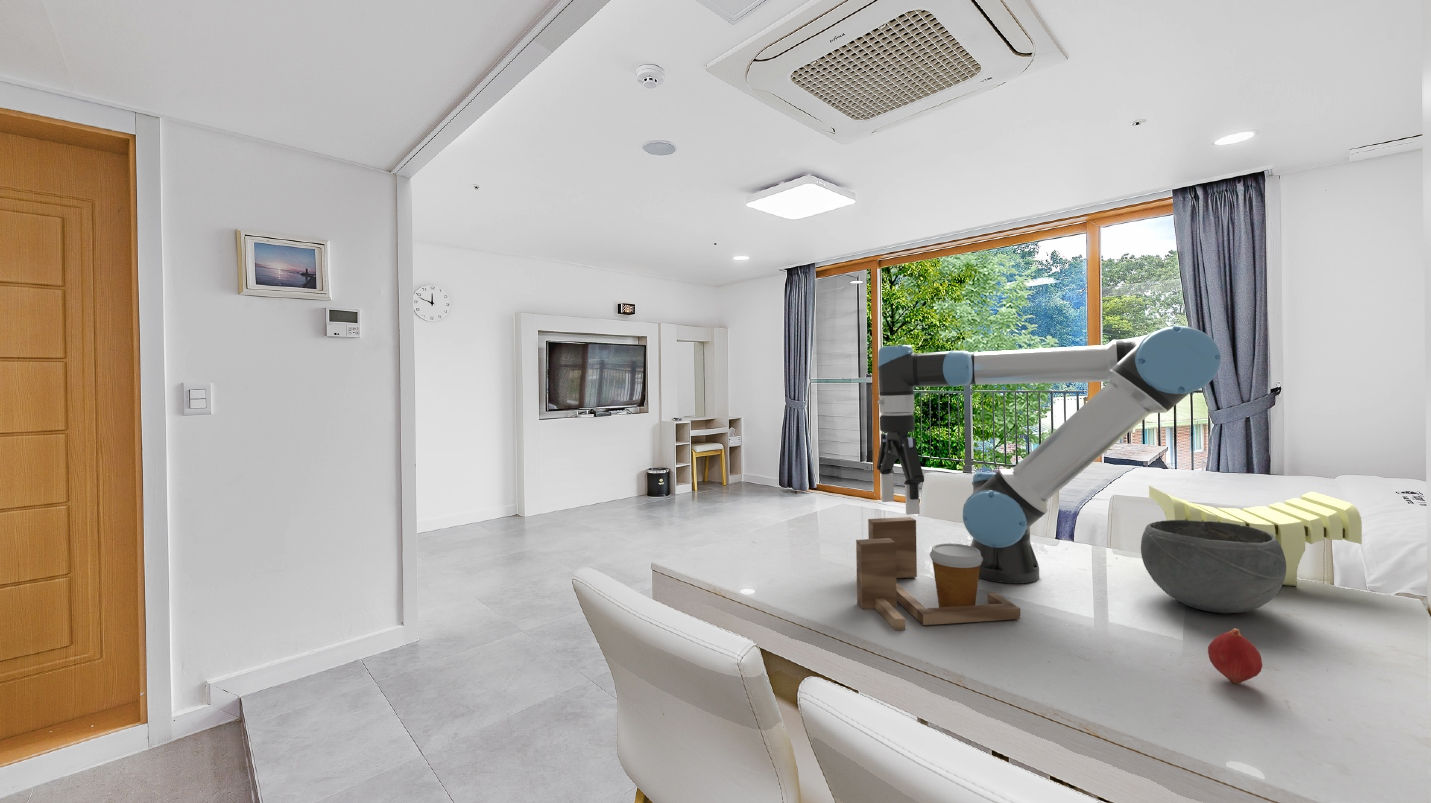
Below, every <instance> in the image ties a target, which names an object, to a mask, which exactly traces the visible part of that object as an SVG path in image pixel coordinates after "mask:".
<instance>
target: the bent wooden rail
mask: <svg viewBox="0 0 1431 803" xmlns="http://www.w3.org/2000/svg"><path fill="white" fill-rule="evenodd" d="M867 522H868V524H867V528H868V533H867V534H868V539H882V538H890V539H892V540H893V541H895V542H896V579H906V578H907V579H908V578H918V567H917V566H918V565H917V561H918V560H917V557H918V556H917V552H918V551H917V520H916V519H915V518H914V517H911V516H904V517H902V516H900V517H886V518H885V517H882V518H879V517H878V518H868V520H867ZM896 592H897V602H898V603H899V604H900V605H901V606H902V607H903V608H905V610H906V611H907V612H908V613H910V615H912V616H913V617H914V618H915V619H916V620H917V621H919V623H920V624H921V625H922V626H929V625H930V626H932V625H933V626H935V625H946V624H962V623H963V624H964V623H976V622H991V621H993V622H995V621H1006V620H1007V621H1009V620H1020V619H1021V607H1019V606H1017V605H1016V604H1015V603H1013V602H1011V601H1009V600H1008V599H1006V598H1005V597H1004V596H1002V595H1000V594H999V593H997V592H989V593H988V592H987V594H986V598H987V599H986V604H975V605H972V606H956V607H940V608H939V607H928V608H927V607H926V606H924V604H922V603H921V602H920V601H919V600H918V599H916V598H915V597H914V596H913V595H912V594H910V593H909V592H908V591H907V590H906V589H904V587H902V586H901V585H900V584H899V583H898V582H896Z"/></svg>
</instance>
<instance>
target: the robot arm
mask: <svg viewBox="0 0 1431 803" xmlns="http://www.w3.org/2000/svg"><path fill="white" fill-rule="evenodd" d="M1219 348H1220V347H1219V346H1218V344H1217V343H1216V342H1215V340H1214V339H1213V338H1212V337H1211V336H1209V335H1208V334H1207V333H1205V332H1203V331H1202V330H1199V329H1197V328H1195V327H1194V328H1193V327H1191V326H1184V325H1169V326H1165V327H1160V328H1158V329H1156V330H1154V331H1152V332H1151V333H1148V334H1146V335H1142V336H1138V337H1137V336H1136V337H1131V338H1124V339H1112V340H1111V341H1110V342H1108V344H1105V345H1104V344H1102V345H1085V346H1069V347H1067V346H1066V347H1065V346H1064V347H1051V348H1049V347H1048V348H1046V347H1045V348H1034V349H1033V348H1032V349H1031V348H1030V349H1013V350H1012V349H1011V350H995V351H976V352H970V351H967V350H954V349H953V350H950V351H949V350H948V351H947V350H946V351H934V352H924V353H923V352H922V353H921V352H920V353H919V352H917V353H916V352H914V350H913V347H912V346H911V345H910V344H899V345H886V346H881V347H880V348H879V350H878V357H877V358H878V359H877V373H878V374H877V375H878V395H879V396H878V398H879V399H878V400H877V404H878V405H879V413H880V414H882V415H880V416H879V431H881V432H882V433H880V445H879V446H880V447H879V451H878V457H877V464H876V469H877V471H879V474H880V483H881V488H880V489H881V502H882V503H887V502H888V503H890V502H895V491H894V490H895V488H894V487H895V486H894V473H895V472H894V470H893V468H894V465H895V463H896V459H898V460H899V463H900V466H901V469H902V472H903V475H904V478H905V481H904V483H903V484H904V493H905V494H904V496H905V498H904V499H905V515H919V514H920V488H919V486H920V484H921V483H924V482H925V478H924V472H923V468H922V465H921V461H920V456H919V453H918V448H917V439H916V436H915V437H909V433H911V432H914V431H915V429H916V428H915V427H916V426H915V424H916V423H915V415H914V414H913V413H914V412H915V392H914V388H921V387H923V388H924V387H925V388H926V387H931V388H932V387H934V388H935V387H961V386H973V385H1012V384H1013V385H1015V384H1019V385H1020V384H1049V383H1050V384H1051V383H1053V384H1054V383H1055V384H1058V383H1060V384H1061V383H1063V384H1064V383H1095V382H1096V383H1097V382H1104V383H1105V382H1107V384H1106V385H1105V386H1103V387H1102V388H1101V389H1100V390H1099V391H1098V392H1097V393H1096V394H1094V395H1093V396H1092V397H1091V398H1089V400H1087V401H1086V402H1085V404H1083V405H1082V406H1081V407H1080V408H1079V409H1077V411H1075V413H1073V414H1072V415H1071V416H1070V417H1069V418H1068V419H1067V420H1065V421H1064V422H1063V423H1062V424H1061V425H1060V426H1059V427H1058V428H1057V429H1055V430H1054V431H1053V432H1052V433H1051V434H1049V436H1048V437H1046V439H1044V440H1043V441H1042V442H1040V444H1038V445H1037V446H1036V447H1035V448H1034V449H1033V450H1032V451H1031V452H1030V453H1029V454H1028V455H1026V456H1025V457H1024V458H1022V460H1021V461H1019V462H1018V464H1016V465H1015V466H1014V467H1013V468H1000V469H998V471H997V472H975V473H974V474H973V476H972V482H971V485H972V493H971V494H970V496H969V497H968V498H967V499H966V500H965V503H964V504H963V507H962V522H963V525H964V528H965V529H966V531H967V532H968V534H969V535H970V536H971V537H972V541H971V543H970V546H972V547H974V548H977V549H978V550H979V551H980V553H981V556H982V557H983V561H982V563H981V565H980V571H979V579H982V580H988V581H991V582H997V583H1003V584H1004V583H1005V584H1026V583H1027V584H1028V583H1032V582H1036V581H1038V580H1039V579H1040V566H1039V563H1038V560H1037V557H1036V554H1035V552H1034V549H1033V546H1032V543H1031V526H1032V525H1034V524H1035V523H1036V522H1037V521H1038V520H1039V519H1040V518H1042V517H1043V516H1044V515H1046V513H1048V510H1049V509H1048V507H1049V506H1048V502H1049V500H1050V499H1052V497H1053V496H1055V495H1056V494H1057V493H1058V492H1060V491H1061V490H1062V489H1063V488H1064V487H1065V486H1066V485H1068V484H1069V483H1070V482H1071V481H1072V480H1073V479H1075V478H1076V477H1077V476H1079V475H1080V474H1081V473H1082V472H1083V471H1084V470H1086V468H1088V467H1089V466H1090V465H1092V464H1093V463H1094V462H1095V461H1096V460H1098V458H1100V457H1101V456H1103V454H1104V453H1106V452H1107V451H1108V450H1109V449H1111V448H1112V447H1113V446H1114V445H1115V444H1117V443H1118V442H1119V441H1120V440H1121V439H1123V438H1124V437H1125V436H1126V435H1127V434H1129V432H1130V431H1132V430H1133V429H1134V428H1135V427H1136V426H1138V425H1139V424H1140V423H1141V422H1142V421H1144V420H1145V419H1146V418H1147V417H1148V416H1149V415H1151V414H1152V415H1153V414H1166V413H1168V412H1169V411H1170V410H1171V409H1172V408H1174V407H1175V406H1176V405H1178V404H1179V403H1180V402H1181V401H1182V400H1183V399H1185V398H1186V397H1188V395H1190V394H1191V393H1193V392H1196V391H1199V390H1200V389H1202V388H1204V387H1206V386H1207V385H1208V384H1210V382H1212V381H1213V379H1214V378H1215V377H1216V375H1217V374H1218V372H1219V371H1220V366H1221V363H1222V362H1221V360H1222V358H1221V357H1222V356H1221V352H1220V349H1219Z"/></svg>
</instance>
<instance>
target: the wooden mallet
mask: <svg viewBox="0 0 1431 803" xmlns="http://www.w3.org/2000/svg"><path fill="white" fill-rule="evenodd" d="M855 546H856V548H855V549H856V550H855V552H856V557H855V559H856V603H857V605H858V606H859V607H860V609H862V610H872V609H873V610H874V609H875V610H876V611H877V612H878V613H879V614H880V616H882V618H884V620H885V621H886V622H887V623H888V624H889V625H890V626H891V628H893V630H895V631H905V630H906V618H905V617H904V616H903V615H902V614H901V613H900V611H898V610H897V609H896V608H898V604H897V602H898V601H897V592H896V583H897V578H896V542H895V541H893V540H892V539H890V538H882V539H869V538H867V539H856V540H855Z"/></svg>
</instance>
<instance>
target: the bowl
mask: <svg viewBox="0 0 1431 803" xmlns="http://www.w3.org/2000/svg"><path fill="white" fill-rule="evenodd" d="M1140 554H1141V555H1140V556H1141V560H1142V562H1143V565H1144V568H1145V569H1146V571H1147V573H1148V574H1149V576H1150V577H1151V579H1152V580H1153V581H1154V582H1155V584H1156V585H1157V586H1158V587H1159V588H1160V589H1161V590H1162V591H1163V592H1164V593H1165V594H1167V595H1168V596H1169V597H1171V598H1172V599H1174V600H1176V601H1177V602H1180V603H1181V604H1183V605H1185V606H1188V607H1190V608H1193V609H1197V610H1201V611H1205V612H1210V613H1220V614H1232V613H1233V614H1235V613H1236V614H1239V613H1246V612H1250V611H1254V610H1256V609H1258V608H1261V607H1263V606H1264V605H1265V604H1268V602H1271V600H1272V599H1274V598H1275V597H1276V596H1277V595H1278V593H1279V592H1280V590H1281V589H1282V586H1284V585H1283V582H1284V580H1285V576H1286V560H1285V556H1284V553H1283V550H1282V547H1281V545H1280V544H1279V542H1278V540H1277V538H1276V537H1275V536H1274V535H1273V534H1271V533H1268V532H1266V531H1263V530H1261V529H1257V528H1253V527H1248V526H1244V525H1243V526H1241V525H1238V524H1232V523H1224V522H1213V521H1189V520H1166V519H1165V520H1160V521H1159V520H1158V521H1155V522H1150V523H1148V524H1147V525H1146V526H1145V528H1144V531H1143V533H1142V536H1141V542H1140Z"/></svg>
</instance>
